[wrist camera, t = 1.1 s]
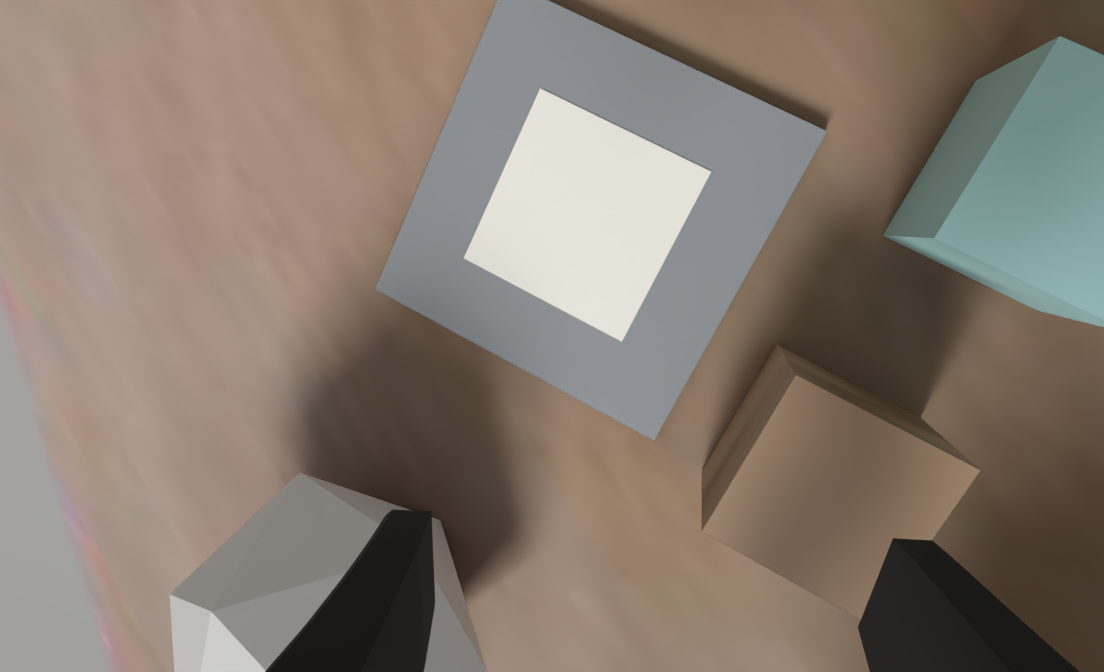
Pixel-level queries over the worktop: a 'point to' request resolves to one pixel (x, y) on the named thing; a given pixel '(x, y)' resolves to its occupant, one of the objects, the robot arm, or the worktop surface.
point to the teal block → (1021, 184)
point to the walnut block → (826, 480)
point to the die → (300, 583)
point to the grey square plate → (593, 209)
